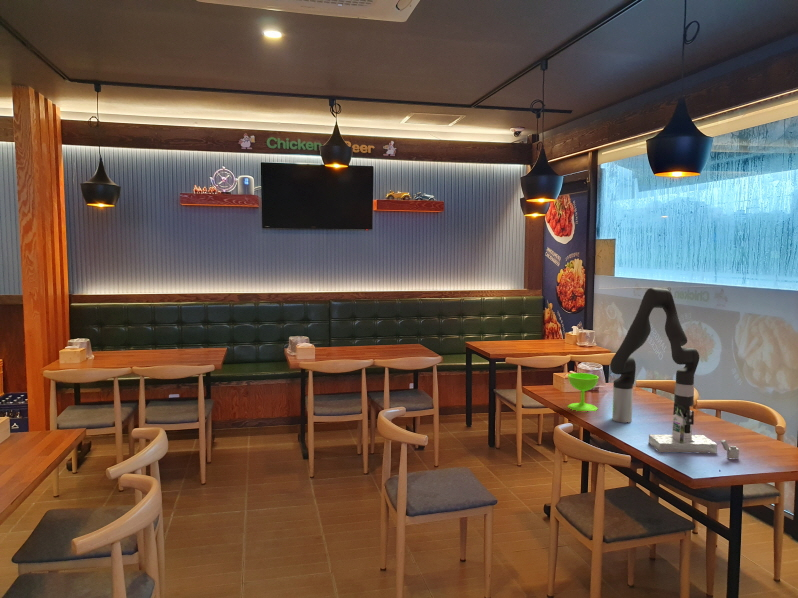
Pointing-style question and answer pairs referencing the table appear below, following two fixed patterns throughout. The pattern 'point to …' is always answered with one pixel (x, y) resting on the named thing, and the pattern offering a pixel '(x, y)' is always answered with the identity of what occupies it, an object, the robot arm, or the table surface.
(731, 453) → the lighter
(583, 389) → the wineglass
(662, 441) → the white flat block
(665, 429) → the table surface
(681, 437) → the syrup box
